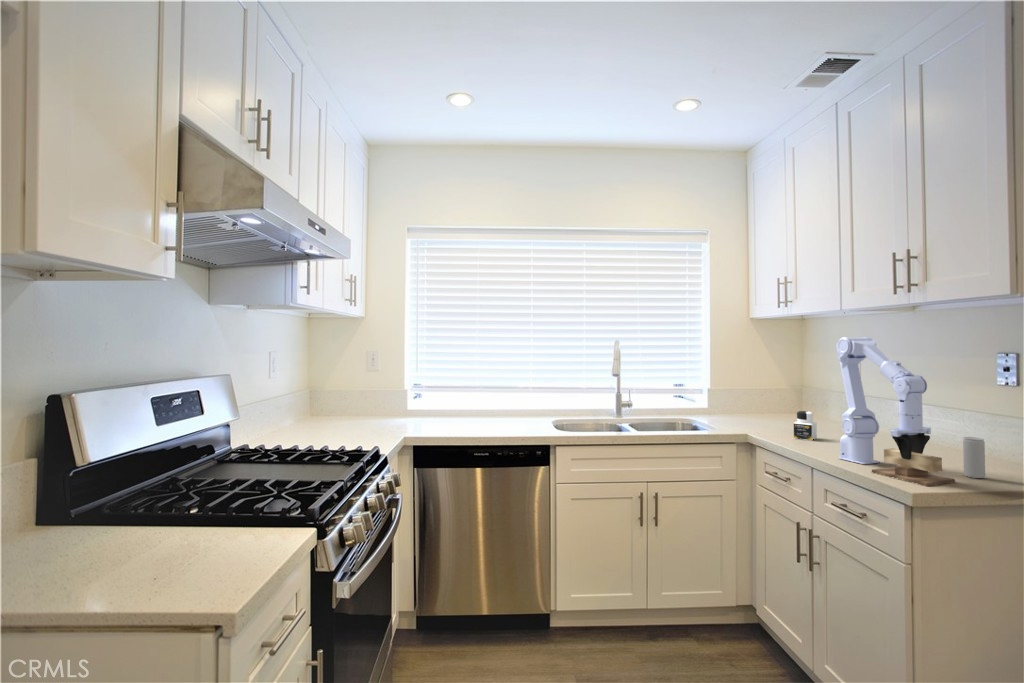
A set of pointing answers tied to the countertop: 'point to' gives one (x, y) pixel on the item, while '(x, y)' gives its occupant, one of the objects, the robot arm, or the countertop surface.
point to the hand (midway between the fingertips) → (911, 458)
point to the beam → (914, 460)
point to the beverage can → (974, 457)
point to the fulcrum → (913, 475)
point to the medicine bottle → (805, 426)
